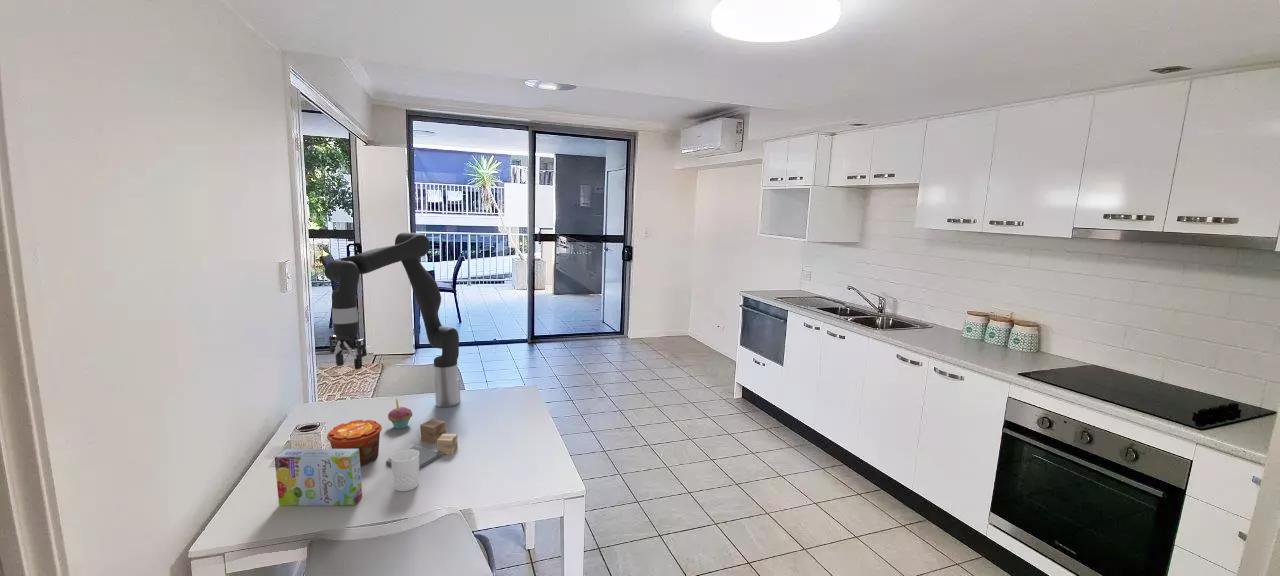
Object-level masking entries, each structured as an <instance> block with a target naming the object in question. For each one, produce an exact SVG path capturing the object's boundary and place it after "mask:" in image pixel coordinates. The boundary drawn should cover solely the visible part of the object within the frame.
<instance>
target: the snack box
mask: <svg viewBox="0 0 1280 576" xmlns="http://www.w3.org/2000/svg"><path fill="white" fill-rule="evenodd" d="M274 466H275V477H276V489H277V497H278V506H279V507H283V506H287V507H288V506H289V507H290V506H296V507H297V506H303V507H304V506H305V507H307V506H309V507H311V506H318V507H319V506H321V507H322V506H323V507H324V506H327V507H328V506H332V507H333V506H335V507H336V506H355V505H356V504H357V503H358V502H359V500H361V499H362V497H363V486H362V473H361V472H362V471H361V466H360V454H359V449H332V448H285V449H284V450H282V451H281V452H280V453H278V454H277V455H276V456H274Z"/></svg>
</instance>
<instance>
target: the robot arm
mask: <svg viewBox="0 0 1280 576" xmlns="http://www.w3.org/2000/svg"><path fill="white" fill-rule="evenodd" d="M430 242H431V241H430V240H429V238H428V237H427V236H426V235H424V234H422V233H419V232H418V233H417V232H401V233H398V234H397V236H396V237H395V239H394V245H391V246H390V245H389V246H383V247H378V248H377V247H376V248H373V249H370V250H367V251H364V252H361V253H357V254H355V255H352V256H345V257H340V258H336V259H333V260H331V261H329V262H328V263H326V265H325V267H324V270H323V273H324V276H325V277H326V278H327V279H328V280H329V281H332V282H337V283H339V286H338V289H334V290H333V291H332V293H331V306H332V308H331V309H332V313H331V317H332V318H331V319H332V328H333V329H332V330H333V334H332V335H330V336H329V352H330V353H331V354H333V355H334V356H335V363H336V364H335V365H336V367H342V366H344V365H345V362H344V360H345V359H344V354H343V352H344V351H347V352H349V354H351V355H352V356H353V362H354V363H353V364H354V370H360V369H362V367H363V357H367V356H368V355H367V346H366V340H365V338H359V337H358V335H359V333H360V323H359V312H358V307H357V296H356V295H357V291H358V285H359V280H360V275H365V274H369V273H371V272H375V271H377V270H379V269H381V268H384V267H386V266H390V265H393V264H395V263H399V262H401V264H402V266H403V267H404V271H405V272H406V274H407V277H408V280H409V283H410V285H411V288H412V291H413V294H414V297H415V300H416V303H417V305H418V308H419V310H420V314H421V317H422V320H423V324H424V329H425V332H426V337H427V340H428V343H429V344H430V346H431V347H433V348H435V349H439V350H440V349H441V355H437V356H436V357H435V358H434V359H433V372H434V376H433V377H434V392H435V393H434V394H435V398H434V399H435V406H437V408H438V407H439V408H450V407H454V406H456V405H458V404H459V402H460V401H461V387H460V385H461V384H460V383H461V382H460V379H459V376H458V374H459V372H458V359H459V356H460V354H459V351H460V338H459V337H460V336H459V332H458V331H457V329H456V328H454V327H449V326H443V325H442V323H441V320H440V317H439V311H440V310H439V309H440V307H441V303H442V296H441V292H440V289H439V286H438V283H437V281H436V280H435V278H434V277H433V276H432V275H431V274H430V272H428V271H427V270H426V268H425V267H424V266H423V265H422V262H421V260H420V259H419V258H422V257H425V255H427V254H428V252H429V250H430V247H431V243H430Z"/></svg>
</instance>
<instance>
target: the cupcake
mask: <svg viewBox="0 0 1280 576" xmlns="http://www.w3.org/2000/svg"><path fill="white" fill-rule="evenodd" d="M398 401H399V399H398V398H397V397H396V398H395V404H396V408H394V409H392V410H390V411H389V413H388V415H387V418H388V420H389V421H390V422H391V423H392V425H393V427H394V429H399V430H400V429H405V428H407V427H408V425H409V422H410V420H411V417H413V412H412V410H411V409H410V408H408V407H405V406H399V402H398Z"/></svg>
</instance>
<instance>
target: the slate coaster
mask: <svg viewBox="0 0 1280 576" xmlns="http://www.w3.org/2000/svg"><path fill="white" fill-rule="evenodd" d="M408 449H415V450H417V451H419V470H421V469H422V468H424V467H425V466H427V465H429V464H431V463H432V462H434V461H435V460H437V459H439V458H441V457H442V456H443V454H442V453H441V452H438V450H437V451H436V450H433V449H429V448H425V447H422V446H418V445H413V446H411V447H409V448H408ZM385 463H386V464H385V465H387V466H390V467H392V466H391V458H390V459H388V460H386V461H385Z"/></svg>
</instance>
